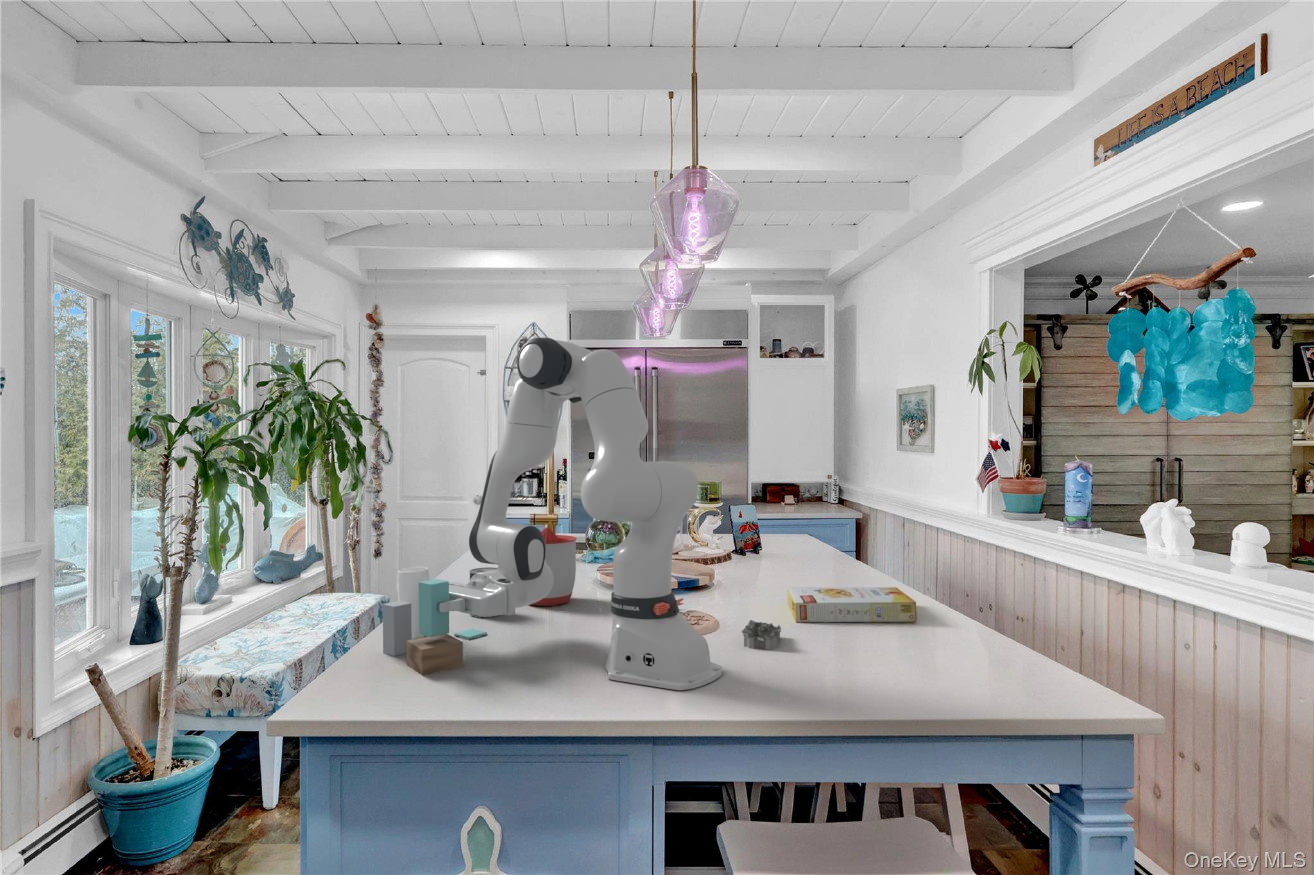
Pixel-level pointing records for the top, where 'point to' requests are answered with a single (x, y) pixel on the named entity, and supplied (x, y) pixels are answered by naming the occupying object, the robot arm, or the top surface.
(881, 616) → the cereal box
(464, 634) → the tile
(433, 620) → the teal block
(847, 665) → the top surface
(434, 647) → the base block
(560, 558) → the citrus juicer
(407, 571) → the drinking glass
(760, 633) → the egg carton
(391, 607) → the grey block
